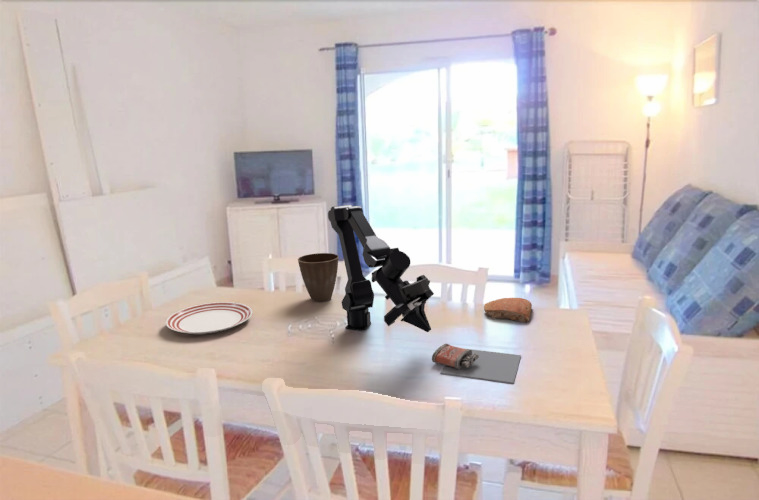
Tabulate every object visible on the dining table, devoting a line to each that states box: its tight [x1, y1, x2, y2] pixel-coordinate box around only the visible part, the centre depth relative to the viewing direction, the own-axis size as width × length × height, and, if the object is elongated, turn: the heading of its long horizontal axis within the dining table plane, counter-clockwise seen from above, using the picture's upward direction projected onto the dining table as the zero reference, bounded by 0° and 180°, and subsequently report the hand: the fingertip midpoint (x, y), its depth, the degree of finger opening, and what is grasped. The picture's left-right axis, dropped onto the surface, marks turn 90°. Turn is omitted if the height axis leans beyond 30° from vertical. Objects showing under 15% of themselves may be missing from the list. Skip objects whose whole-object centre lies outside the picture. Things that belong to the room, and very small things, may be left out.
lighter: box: [431, 343, 479, 369], centre depth 132 cm, size 8×3×10 cm
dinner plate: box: [165, 301, 253, 335], centre depth 169 cm, size 27×27×3 cm
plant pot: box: [297, 252, 340, 303], centre depth 189 cm, size 15×15×16 cm
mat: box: [439, 347, 522, 385], centre depth 132 cm, size 18×16×1 cm
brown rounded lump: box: [483, 297, 533, 323], centre depth 168 cm, size 15×6×15 cm
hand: (429, 330), depth 136 cm, fingers closed
